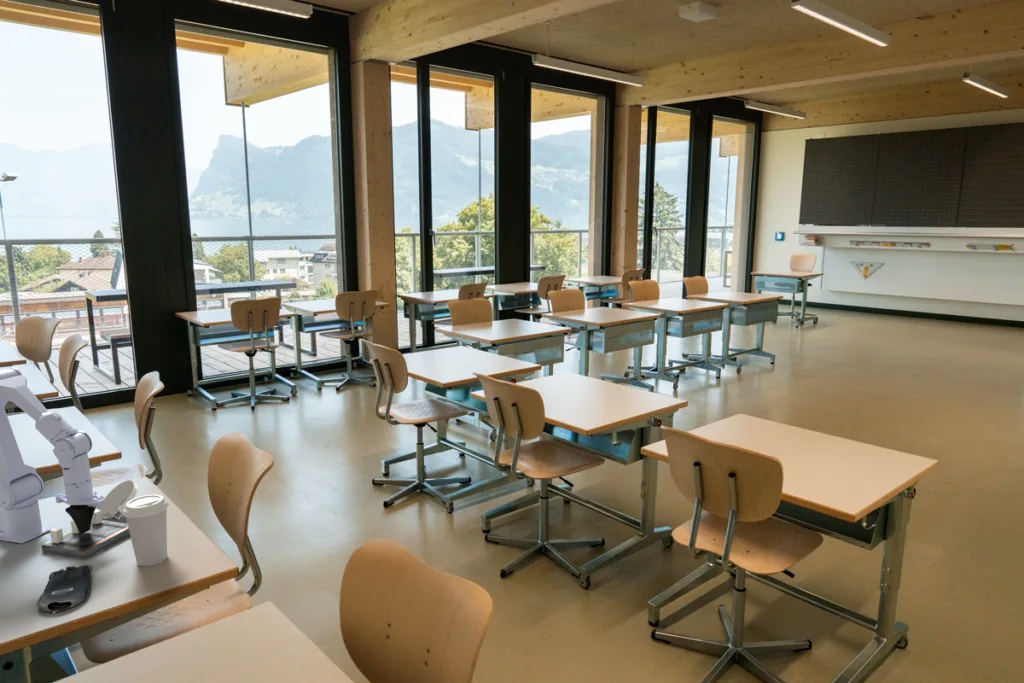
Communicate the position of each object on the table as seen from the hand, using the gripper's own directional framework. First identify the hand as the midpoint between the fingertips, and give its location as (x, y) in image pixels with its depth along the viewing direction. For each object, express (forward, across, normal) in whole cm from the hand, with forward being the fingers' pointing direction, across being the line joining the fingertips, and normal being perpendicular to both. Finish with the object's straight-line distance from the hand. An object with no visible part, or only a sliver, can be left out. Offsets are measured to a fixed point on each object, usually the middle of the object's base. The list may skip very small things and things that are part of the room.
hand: (84, 531), depth 171 cm
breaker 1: (0, +3, +6) cm, 6 cm away
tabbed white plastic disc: (+3, +6, -16) cm, 17 cm away
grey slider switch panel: (+3, -2, 0) cm, 3 cm away
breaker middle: (0, +2, 0) cm, 2 cm away
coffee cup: (+3, -24, +3) cm, 25 cm away
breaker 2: (0, +3, -6) cm, 6 cm away
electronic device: (+3, -19, +20) cm, 28 cm away
